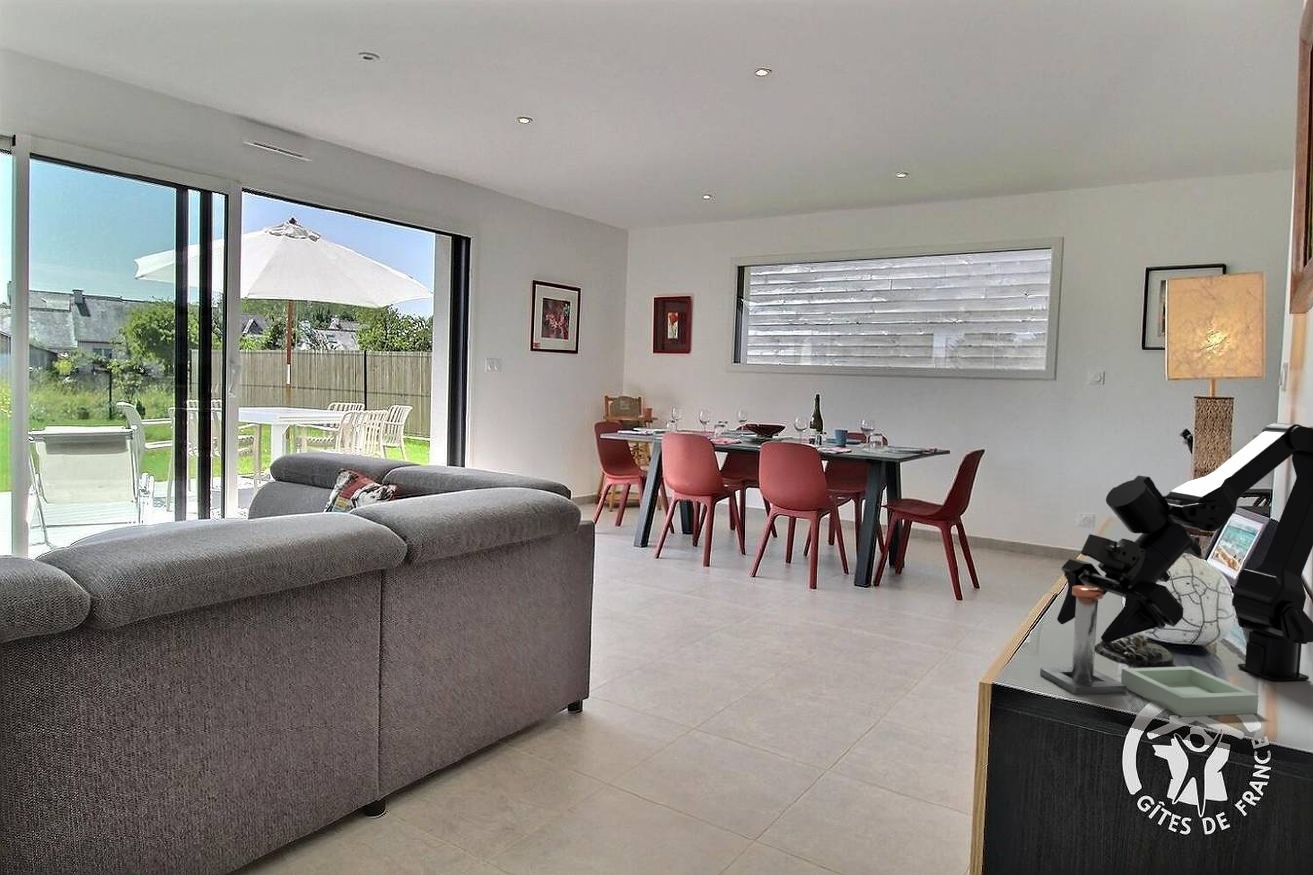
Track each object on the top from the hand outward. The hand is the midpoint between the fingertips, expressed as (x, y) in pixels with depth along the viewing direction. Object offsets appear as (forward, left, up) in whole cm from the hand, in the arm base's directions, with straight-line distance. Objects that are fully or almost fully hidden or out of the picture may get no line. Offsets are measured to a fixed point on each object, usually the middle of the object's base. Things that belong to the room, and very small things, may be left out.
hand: (1080, 631), depth 121 cm
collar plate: (-1, 0, -8) cm, 8 cm away
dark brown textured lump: (-18, -11, -8) cm, 23 cm away
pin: (-1, 0, -8) cm, 8 cm away
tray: (-12, +7, -8) cm, 16 cm away
